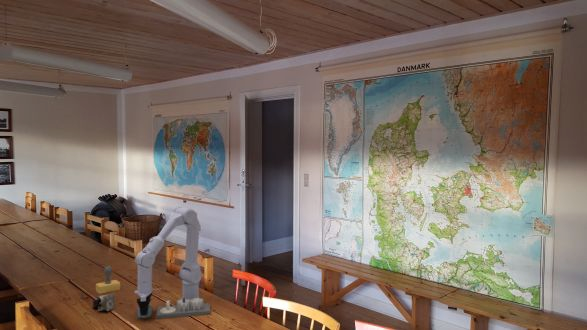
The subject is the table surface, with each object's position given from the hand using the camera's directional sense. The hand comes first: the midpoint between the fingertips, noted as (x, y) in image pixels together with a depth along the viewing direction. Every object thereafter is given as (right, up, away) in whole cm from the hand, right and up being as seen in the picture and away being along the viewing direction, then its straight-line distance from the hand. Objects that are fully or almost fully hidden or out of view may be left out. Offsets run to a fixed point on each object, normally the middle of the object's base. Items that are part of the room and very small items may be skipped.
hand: (144, 312), depth 180 cm
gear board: (+15, -2, +4) cm, 16 cm away
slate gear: (0, -1, 0) cm, 1 cm away
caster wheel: (-21, -1, +7) cm, 22 cm away
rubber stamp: (-28, 0, +30) cm, 41 cm away
